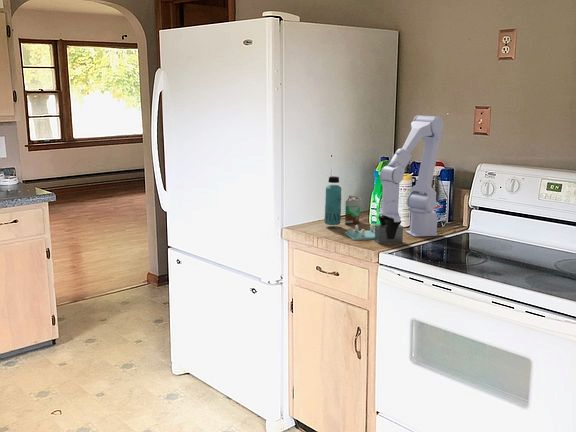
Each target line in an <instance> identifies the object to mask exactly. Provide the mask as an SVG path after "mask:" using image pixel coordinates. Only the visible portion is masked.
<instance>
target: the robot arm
mask: <svg viewBox="0 0 576 432" xmlns="http://www.w3.org/2000/svg"><path fill="white" fill-rule="evenodd" d="M444 127H445V123H444V121H443V119H442V117H441V116H438V115H437V116H435V115H434V116H432V115H431V116H430V115H420V114H418V115H416V116H414V118H413V120H412V122H411V123H410V129H411V130H410V132H409V134H408V135H407V137H406V140H405V142H404V144H403V146H402V148H398V149H397V150H396V151H395V153H394V155H393V156H392V158H391V160H390V161H389V162H388V164H387V165H385V166H383V167H382V168H381V170H380V173H379V179H380V183H381V186H382V197H381V199H382V200H381V202H382V203H381V207H380V208H379V212H377V213H378V216H377V218H378V221H379V223H380V225H386V226H387V236H388V239H394V238H395V235H396V231H397V229H398V227H399V225H401V223H402V220H401V215H400V212H399V202H400V200H399V198H400V183H401V182H402V181H404V180H403V179H404V177H405V172H406V168H407V166H408V164H409V163H410V161H411V159H412V152H413V150H414V149H415V148H416V146H417V145H418V143H419V142H420V141H421V139H422V140H423V142H424V145H423V151H422V154H421V155H422V156H421V160H420V161H421V162H420V166H419V172H418V175H417V176H418V177H417V182H416V184H415V185H413V186H412V187H410V189H409V193H408V195H407V197H406V205H407V207H408V208H409V211H410V223H409V224H410V225H409V230H405V233H407V234H409V235H411V236H412V237H413V238H416V237H435V236H438V233H437V230H438V214H437V212H436V211H435V209H436V206H437V191H435V189H434V188H433V187H432V184H433V179H434V174H435V169H436V164H437V157H438V152H439V147H440V142H441V140H442V136H443V132H444V131H443V130H444Z"/></svg>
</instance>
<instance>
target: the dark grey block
mask: <svg viewBox="0 0 576 432" xmlns="http://www.w3.org/2000/svg"><path fill="white" fill-rule="evenodd" d="M374 230H375V239H374V242H375V243H376V244H378V245H386V244H385V243H392V244H402V243H403V237H404V226H403V225H401V224H400V225H399V227H398V229H397V231H396V235H395V238H394V239H388V236H387V226H386V225H381V224H375V226H374Z"/></svg>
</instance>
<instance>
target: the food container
mask: <svg viewBox="0 0 576 432" xmlns="http://www.w3.org/2000/svg"><path fill="white" fill-rule="evenodd" d="M361 205H363V200H362V197H360V196H357V195H348V198H347V200H345V215H344V217H345V219H344V221H345V222H344V225H347V226H349V225H350V226H352V225H353V226H354V225H358V224H359V222H360V213H361Z"/></svg>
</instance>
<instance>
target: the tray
mask: <svg viewBox="0 0 576 432" xmlns="http://www.w3.org/2000/svg"><path fill="white" fill-rule="evenodd" d="M354 225H355V226H354V230H353V229H352V228H348V229H347V231H344V234H345V235H346V236H347V237H349V238H350V239H351V240H353V241H362V240H363V241H366V240H368V241H369V240H370V241H371V240H375V226H374V224H370V226H369V227H370V229H369V230H365V228H362V229H361V230H359V225H358V224H354Z"/></svg>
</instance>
